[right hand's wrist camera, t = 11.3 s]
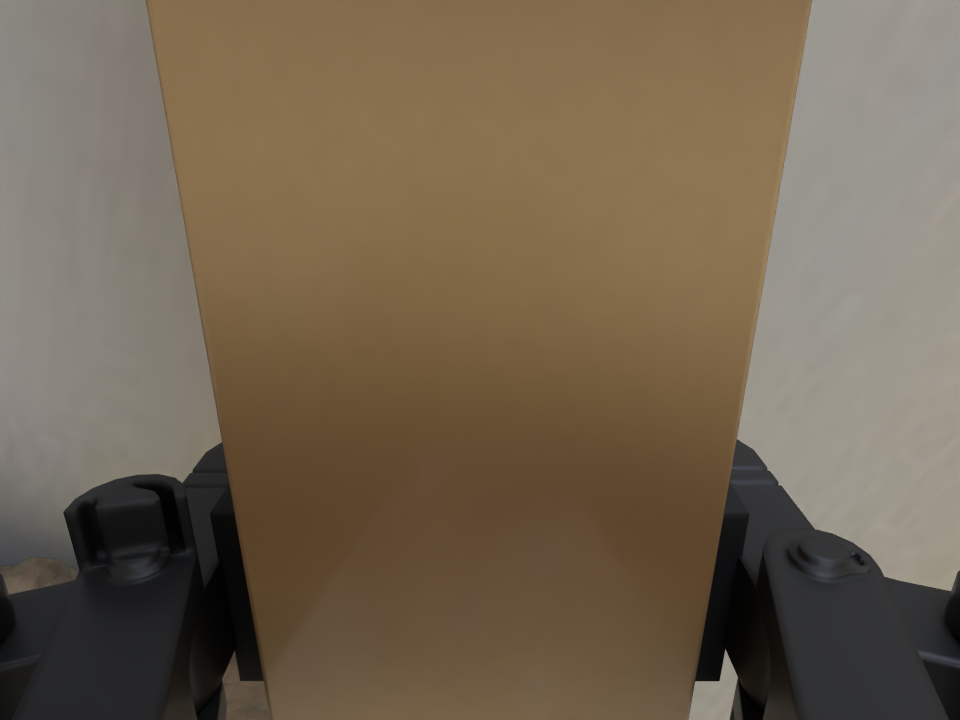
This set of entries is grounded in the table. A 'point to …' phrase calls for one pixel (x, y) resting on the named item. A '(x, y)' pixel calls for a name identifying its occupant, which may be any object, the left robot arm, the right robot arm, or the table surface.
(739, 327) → the bar
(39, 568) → the stone
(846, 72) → the table surface
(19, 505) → the table surface
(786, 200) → the table surface
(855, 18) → the table surface
